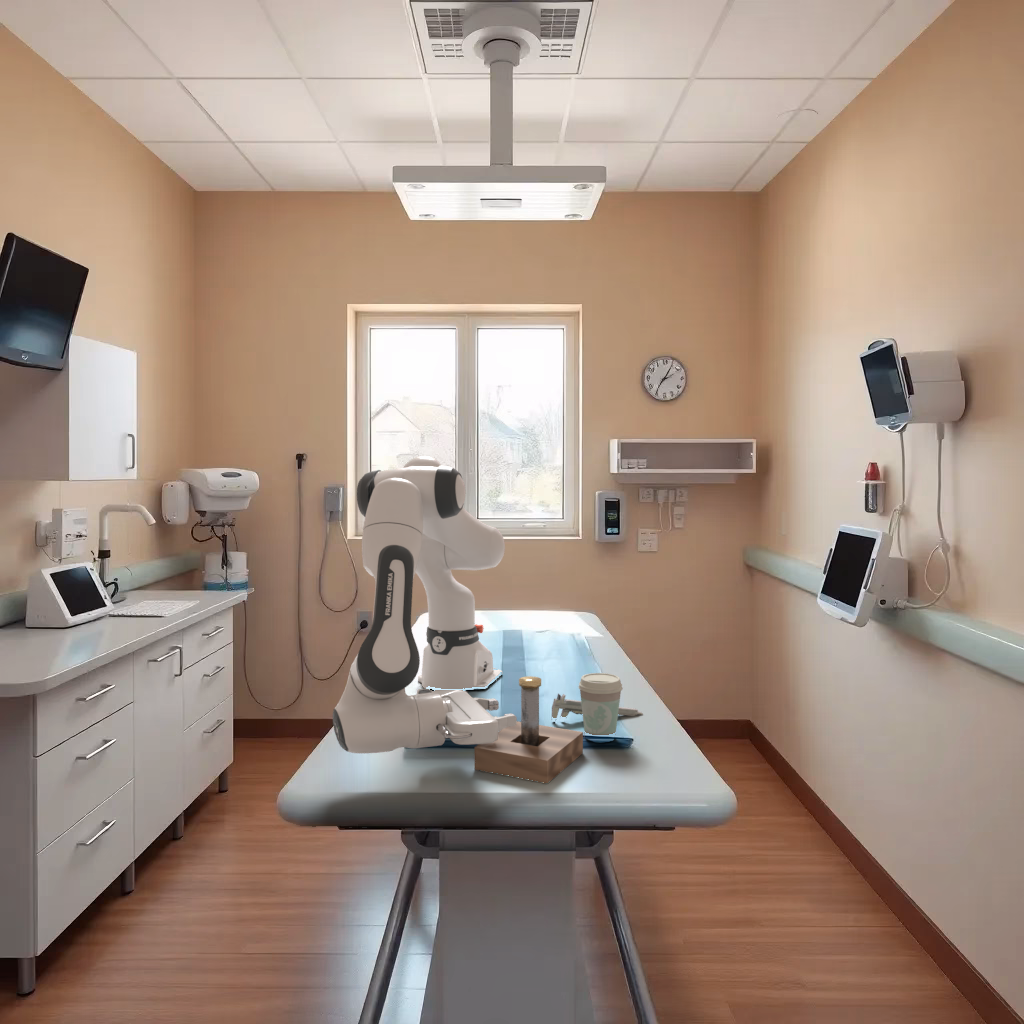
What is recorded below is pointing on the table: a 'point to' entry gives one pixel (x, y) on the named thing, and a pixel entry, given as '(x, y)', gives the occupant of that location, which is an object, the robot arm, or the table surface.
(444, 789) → the table surface
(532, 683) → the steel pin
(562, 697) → the caliper
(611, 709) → the coffee cup
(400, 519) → the robot arm
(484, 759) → the walnut block
